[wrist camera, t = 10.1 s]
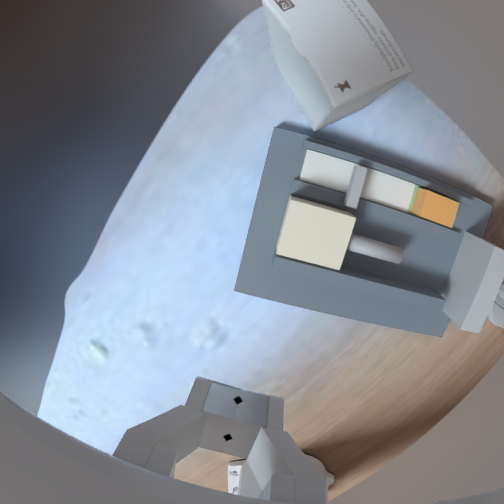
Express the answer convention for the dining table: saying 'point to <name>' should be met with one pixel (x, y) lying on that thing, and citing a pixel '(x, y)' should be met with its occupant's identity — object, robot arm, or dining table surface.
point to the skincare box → (333, 55)
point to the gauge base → (377, 228)
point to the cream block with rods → (329, 231)
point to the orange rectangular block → (434, 207)
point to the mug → (498, 308)
